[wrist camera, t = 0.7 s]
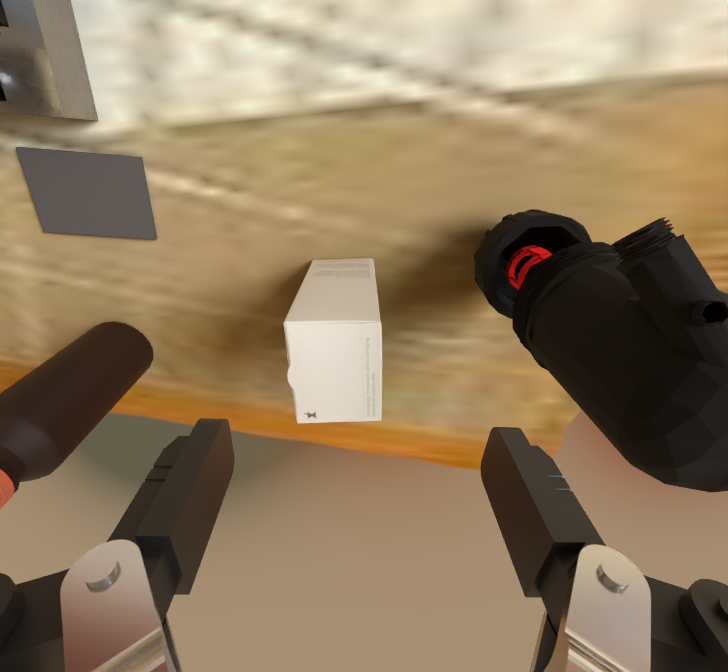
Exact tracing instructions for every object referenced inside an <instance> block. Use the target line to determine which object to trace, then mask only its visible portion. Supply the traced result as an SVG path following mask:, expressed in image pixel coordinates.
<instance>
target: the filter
mask: <svg viewBox="0 0 728 672" xmlns="http://www.w3.org/2000/svg"><path fill="white" fill-rule="evenodd" d="M664 219H665V217H664V218H660V219H658V220H656V221H654V222H652V223H650V224H649V225H647V226H645V227H643V228H641V229H639V230H637V231H635V232H633V233H631V234H630V235H628V236H626V237H624V238H622V239H620V240H619V241H617V242H615V243H613V244H612V245H609V244H606V243H604V242H592V241H591V239H590V237H589V234H588V233H587V231H586V229H585V228H584V226H583V225H581V224H580V223H578V222H577V221H575V220H573V219H572V218H568V217H565V216H561V215H557V214H553V213H549V212H545V211H541V210H528V211H526V212H519V213H516V214H514V215H512V214H510V215H507V216H505V217H503V219H502V222H500V223H498V224H497V225H496V226H495V227H494V228H493V229H492V230H491V231H490V230H487V231H486V232H485V233H484V234H485V235H486V237H485V239H484V240H483V242H482V244H481V246H480V247H479V249H478V251H476V253H475V255H474V260H475V281H476V283H477V285H478V286H479V287H480V289H481V290H482V292H483V293H484V295H485V296H486V298H487V300H488V302H489V304H490V305H491V306H492V307H493V308H494V309H495V310H496V311H497V312H498V313H500V314H502V315H504V316H506V317H508V318H511V319H513V330H514V331H515V333H516V334H517V336H518V338H519V339H520V342H521V343H522V344H523V346H524V347H525V348H526V349H528V350H529V351H530V353H531V354H532V356H533V357H534V359H535V360H536V362H537V363H538V364H539V365H540V366H541V367H542V368H544V369H546V370H548V371H549V372H550V373H551V374H552V376H553V377H554V378H555V379H556V380H557V381H558V382H559V384H560V385H561V386H562V387H563V388H564V389H565V390H566V392H567V393H568V394H569V395H570V396H571V397H572V398H573V400H574V401H575V402H576V403H577V404H578V405H579V406H580V408H581V409H582V410H583V411H584V412H585V413H586V414H587V415H588V417H589V418H590V419H591V420H592V421H593V422H594V424H595V425H596V426H597V427H598V428H599V429H600V430H601V432H602V433H603V434H604V435H605V436H606V437H607V438H608V440H609V441H610V442H611V443H612V444H613V445H614V446H615V448H617V450H618V451H619V452H620V453H621V454H622V456H623V457H624V458H625V459H626V460H627V461H628V462H629V463H630V464H631V465H633V466H634V467H636V468H638V469H639V470H641V471H643V472H645V473H647V474H648V475H650V476H652V477H654V478H656V479H657V480H659V481H661V482H663V483H664V484H668V485H674V486H679V487H685V488H690V489H696V490H701V491H707V492H720V491H728V294H727V293H724V292H722V291H719V290H718V289H717V288H716V286H715V285H714V283H713V282H712V280H711V279H710V277H709V275H708V274H707V272H706V271H705V269H704V268H703V266H702V264H701V263H700V261H699V260H698V258H697V257H696V255H695V254H694V252H693V250H692V249H691V247H690V246H689V244H688V243H687V241H686V240H685V238H684V234H683V235H680V236H678V237H676V235H675V234H674V233H671V232H670V231H671V230H672V229H673V228H674V227H672V228H669V227H670V226H671V225H672V224H668V225H665V224H666V223H667V222H669V221H670V220H667V221H663V220H664ZM513 248H514V249H513ZM507 254H508V255H507Z"/></svg>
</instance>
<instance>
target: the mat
mask: <svg viewBox="0 0 728 672" xmlns="http://www.w3.org/2000/svg"><path fill="white" fill-rule="evenodd" d="M16 150H17V153H18V156H19V159H20V162H21V165H22V168H23V171H24V174H25V177H26V180H27V183H28V186H29V189H30V192H31V195H32V198H33V201H34V204H35V207H36V210H37V213H38V216H39V219H40V222H41V225H42V228H43V231H44V232H52V233H66V234H80V235H95V236H109V237H123V238H137V239H152V240H155V239H157V235H156V229H155V224H154V219H153V213H152V208H151V203H150V198H149V192H148V187H147V182H146V176H145V171H144V166H143V161H142V157H132V156H121V155H109V154H97V153H85V152H73V151H61V150H49V149H37V148H25V147H16Z"/></svg>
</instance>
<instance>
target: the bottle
mask: <svg viewBox="0 0 728 672" xmlns="http://www.w3.org/2000/svg"><path fill="white" fill-rule="evenodd" d="M152 360H153V350H152V347H151V345H150V342H149V341H148V340H147V339H146V337H145V336H144V335H143V334H142V333H140V332H139V331H138V330H136V329H135V328H133V327H131V326H129V325H126V324H123V323H118V322H106V323H102V324H100V325H97V326H95V327H94V328H92V329H91V330H89V331H88V332H87V333H85V334H84V335H82V336H81V337H80V338H78V339H77V340H75V341H74V342H73V343H71V344H70V345H68V346H67V347H65V348H64V349H63V350H61V351H60V352H58V353H57V354H56V355H54V356H53V357H51V358H50V359H49V360H47V361H46V362H44V363H43V364H42V365H40V366H39V367H37V368H36V369H34V370H33V371H32V372H30V373H29V374H27V375H26V376H25V377H23V378H22V379H20V380H19V381H18V382H16V383H15V384H13V385H12V386H11V387H9V388H8V389H6V390H5V391H3V392H2V393H1V394H0V509H1V507H2V506H3V505H4V504H5V503H6V502H7V501H8V500H9V499H10V498H11V497H12V496H13V494H14V493H15V492H16V491H17V490H18V487H19V482H23V481H29V480H35V479H39V478H41V477H44V476H47V475H49V474H51V473H52V472H53V471H54V470H55V469H57V468H58V467H59V466H60V465H61V463H63V461H64V460H65V459H66V458H67V457H68V456H69V455H70V454H71V453H72V452H73V451H74V449H75V448H76V447H77V446H78V445H79V444H80V443H81V442H82V441H83V440H84V438H85V437H86V436H87V435H88V434H89V433H90V432H91V431H92V430H93V429H94V427H95V426H96V425H97V424H98V423H99V422H100V421H101V420H102V418H104V416H105V415H106V414H107V413H108V412H109V411H110V410H111V409H112V408H113V407H114V405H115V404H116V403H117V402H118V401H119V400H120V399H121V398H122V397H123V396H124V394H125V393H126V392H127V391H128V390H129V389H130V388H131V387H132V386H133V385H134V383H135V382H136V381H137V380H138V379H139V378H140V377H141V376H142V375H143V374H144V373H145V371H146V370H147V369H148V368H149V367H150V365H151V363H152Z"/></svg>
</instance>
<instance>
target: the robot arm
mask: <svg viewBox="0 0 728 672" xmlns="http://www.w3.org/2000/svg"><path fill="white" fill-rule="evenodd" d="M233 468H234V452H233V445H232V439H231V433H230V427H229V422H228V420H227V419H205V418H201V419H199V420H198V421H197V423H196V425H195V427H194V428H193V430H192V432H191V434H190V436H179V437H177V438H176V439H175V440H174V441H173V442H172V443H170V444H169V445H168V446H167V447H166V448H165V449H164V450H163V451H162V453H161V454H160V456H159V458H158V459H157V461H156V462H155V464H154V468H153V469H151V471H150V472H149V474H148V476H147V477H146V479H145V483H143V484H142V485H141V487H140V489H139V491H138V492H137V494H136V495H135V497H134V499H133V500H132V502H131V504H130V505H129V507H128V509H127V510H126V512H125V513H124V515H123V517H122V518H121V520H120V522H119V523H118V525H117V527H116V528H115V530H114V532H113V533H112V535H111V536H110V538H109V539H108V540H107V542H106V543H103V544H101V545H98V546H97V547H95V548H93V549H91V550H90V551H88V552H87V553H85V554H84V555H83V556H82V557H81V558H79V559H78V560H77V561H76V563H74V565H73V566H72V567H71V568H70V569H67V570H64V571H61V572H58V573H55V574H52V575H48V576H44V577H41V578H38V579H34V580H31V581H28V582H24V583H20V584H17V585H15V583H14V582H13V581H12V580H11V578H10V577H9V576H7V575H5V574H2V573H0V672H183V671H182V668H181V664H180V660H179V657H178V653H177V650H176V646H175V643H174V639H173V636H172V632H171V628H170V625H169V621H168V617H167V611H168V609H169V606H170V603H171V601H172V598H173V596H174V594H190V591H191V588H192V585H193V583H194V580H195V577H196V574H197V572H198V569H199V566H200V563H201V560H202V558H203V555H204V552H205V549H206V546H207V543H208V541H209V538H210V535H211V533H212V530H213V527H214V524H215V521H216V519H217V516H218V513H219V510H220V507H221V505H222V502H223V499H224V496H225V493H226V491H227V488H228V485H229V482H230V480H231V477H232V473H233ZM481 477H482V482H483V484H484V487H485V490H486V493H487V495H488V498H489V501H490V503H491V506H492V509H493V511H494V514H495V517H496V519H497V522H498V525H499V528H500V530H501V533H502V536H503V538H504V541H505V544H506V546H507V549H508V552H509V554H510V557H511V560H512V562H513V565H514V568H515V571H516V573H517V576H518V579H519V581H520V584H521V587H522V589H523V592H524V595H525V597H541V598H542V600H543V602H544V605H545V608H546V610H545V612H544V615H543V618H542V622H541V626H540V630H539V635H538V639H537V643H536V647H535V651H534V655H533V659H532V663H531V668H530V672H728V586H727V585H725V584H723V583H721V582H717V581H714V580H710V579H700V580H697V581H695V582H694V583H693V584H692V585H691V586H690V587H689V589H688V590H687V589H684V588H681V587H678V586H675V585H672V584H668V583H665V582H662V581H659V580H656V579H653V578H650V577H647V576H645V575H643V574H642V573H641V572H640V570H639V569H638V568H637V567H636V566H635V565H634V564H633V563H632V562H631V561H630V560H629V559H628V558H626V557H625V556H624V555H622V554H621V553H619V552H617V551H615V550H613V549H611V548H609V547H607V546H606V545H605V544H604V542H603V541H602V539H601V538H600V536H599V534H598V532H597V531H596V529H595V528H594V526H593V524H592V523H591V521H590V519H589V518H588V516H587V515H586V513H585V511H584V510H583V508H582V506H581V505H580V503H579V502H578V500H577V498H576V497H575V495H574V493H573V492H572V491H570V487H569V485H568V484H567V482H566V480H565V479H564V478H562V474H561V472H560V471H559V469H558V467H557V466H556V464H555V463H554V461H553V459H552V458H551V457H549V456H548V455H547V454H546V453H545V452H544V451H543V450H542V449H541V448H540V447H538V446H531V445H530V444H529V442H528V440H527V438H526V437H525V435H524V433H523V432H522V430H521V429H520V428H510V427H493V428H492V430H491V432H490V435H489V438H488V441H487V445H486V448H485V451H484V454H483V458H482V461H481Z"/></svg>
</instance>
